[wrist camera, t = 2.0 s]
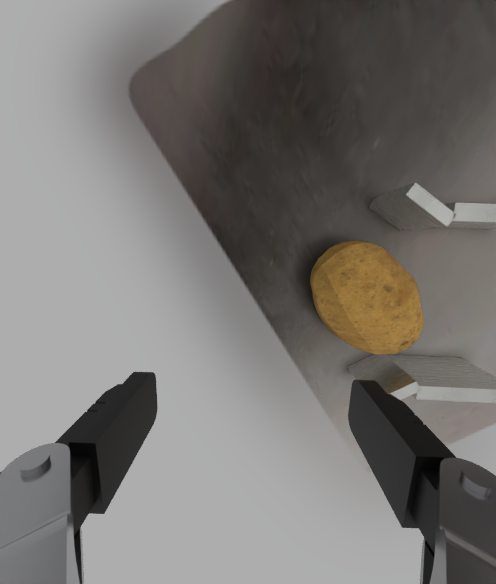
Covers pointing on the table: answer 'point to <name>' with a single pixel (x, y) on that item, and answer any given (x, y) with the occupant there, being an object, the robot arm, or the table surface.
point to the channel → (428, 369)
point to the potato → (367, 298)
